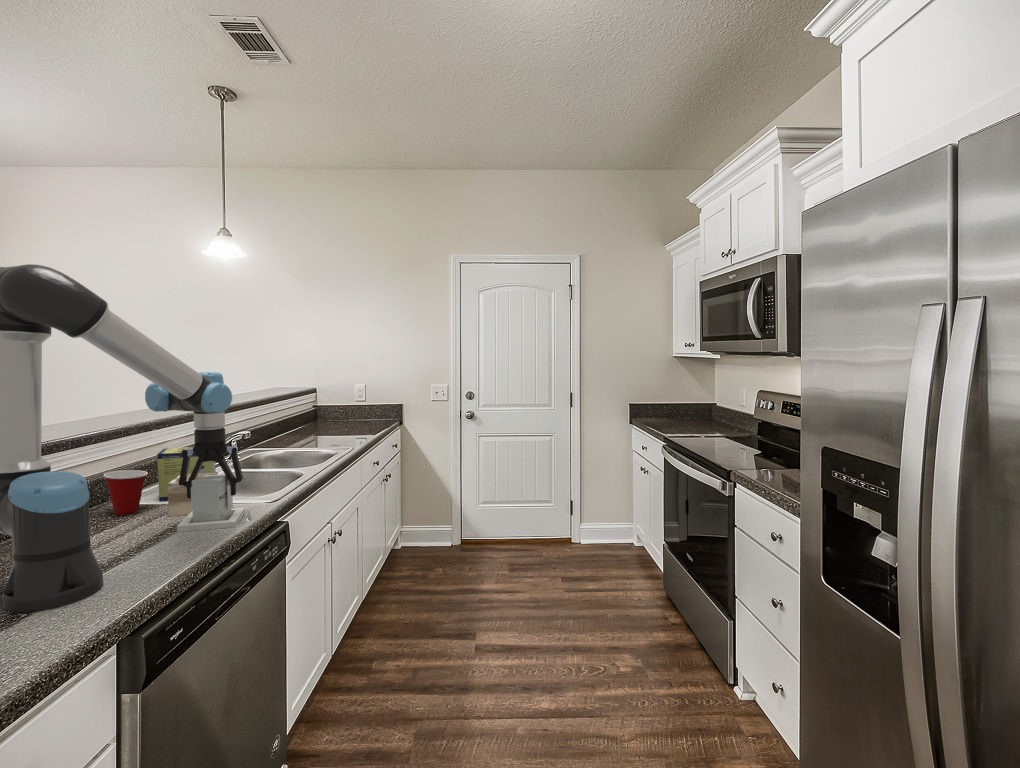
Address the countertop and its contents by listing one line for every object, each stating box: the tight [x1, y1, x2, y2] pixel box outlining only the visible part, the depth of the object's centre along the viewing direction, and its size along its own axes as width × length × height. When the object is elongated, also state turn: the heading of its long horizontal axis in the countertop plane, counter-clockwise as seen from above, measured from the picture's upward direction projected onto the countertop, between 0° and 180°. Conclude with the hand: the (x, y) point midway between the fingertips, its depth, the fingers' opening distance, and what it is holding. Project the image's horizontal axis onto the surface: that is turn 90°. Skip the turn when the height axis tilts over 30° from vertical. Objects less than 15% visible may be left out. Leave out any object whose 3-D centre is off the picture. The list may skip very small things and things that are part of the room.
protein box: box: [156, 446, 217, 502], centre depth 179 cm, size 10×16×16 cm
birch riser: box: [167, 471, 224, 517], centre depth 164 cm, size 12×12×10 cm
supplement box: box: [192, 474, 232, 523], centre depth 151 cm, size 7×7×13 cm
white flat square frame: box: [176, 507, 246, 533], centre depth 152 cm, size 14×14×2 cm
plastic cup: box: [103, 469, 149, 516], centre depth 160 cm, size 11×11×12 cm
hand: (212, 508), depth 152 cm, fingers closed on supplement box, 8 cm apart
